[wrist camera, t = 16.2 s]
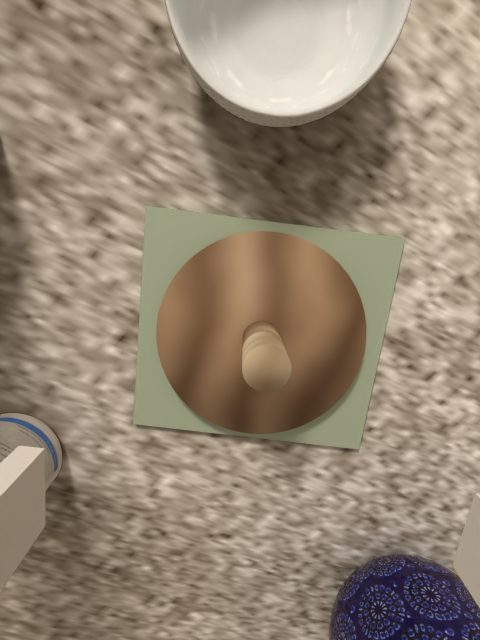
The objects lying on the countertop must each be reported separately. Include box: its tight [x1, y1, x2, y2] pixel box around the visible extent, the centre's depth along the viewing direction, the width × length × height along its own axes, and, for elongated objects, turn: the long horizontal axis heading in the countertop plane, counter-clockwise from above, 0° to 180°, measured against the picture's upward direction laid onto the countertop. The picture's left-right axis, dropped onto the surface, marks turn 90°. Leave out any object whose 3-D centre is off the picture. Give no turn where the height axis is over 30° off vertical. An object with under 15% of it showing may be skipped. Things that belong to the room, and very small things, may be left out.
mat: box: [133, 206, 405, 449], centre depth 35 cm, size 24×22×1 cm
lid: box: [156, 231, 366, 434], centre depth 30 cm, size 20×20×9 cm
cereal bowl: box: [165, 0, 412, 127], centre depth 26 cm, size 17×17×7 cm
